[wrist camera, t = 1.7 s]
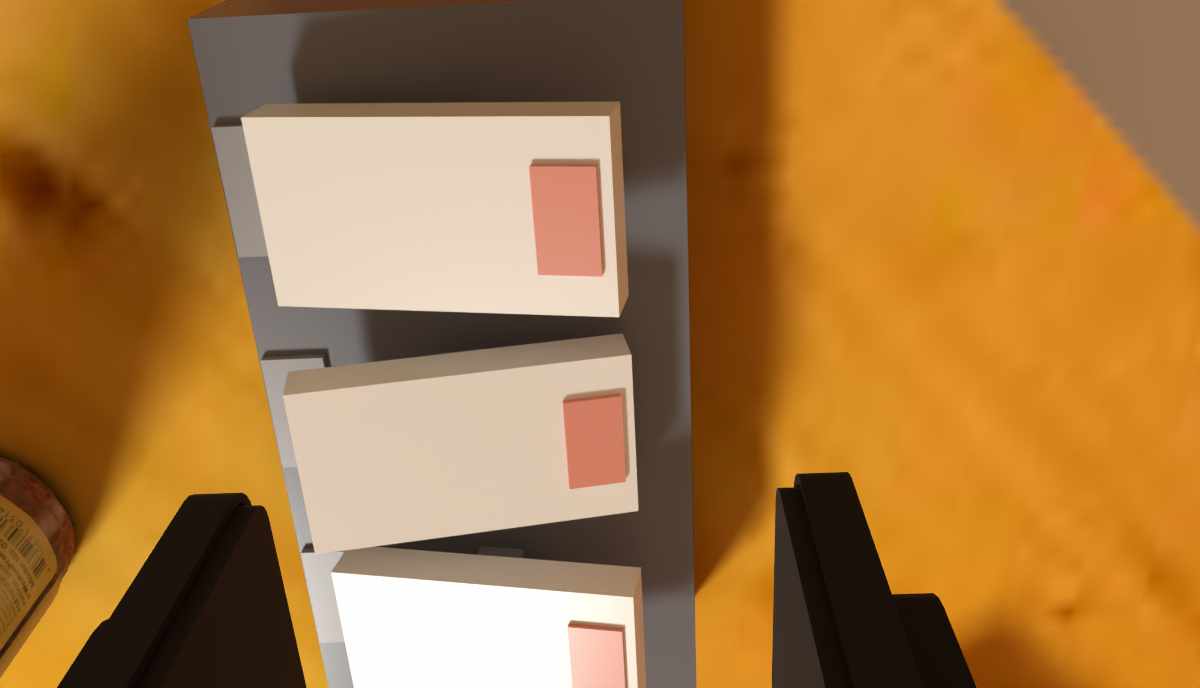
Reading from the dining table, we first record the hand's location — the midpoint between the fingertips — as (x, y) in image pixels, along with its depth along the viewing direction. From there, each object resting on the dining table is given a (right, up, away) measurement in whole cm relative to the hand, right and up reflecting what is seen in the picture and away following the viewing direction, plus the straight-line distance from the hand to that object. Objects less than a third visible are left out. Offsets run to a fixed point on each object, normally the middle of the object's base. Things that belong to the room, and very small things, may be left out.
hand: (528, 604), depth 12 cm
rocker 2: (-2, -4, +19) cm, 19 cm away
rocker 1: (-2, +6, +14) cm, 15 cm away
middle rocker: (-3, +1, +16) cm, 16 cm away
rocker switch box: (-2, +3, +20) cm, 21 cm away
